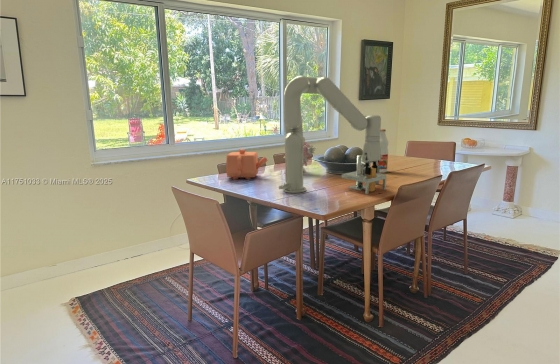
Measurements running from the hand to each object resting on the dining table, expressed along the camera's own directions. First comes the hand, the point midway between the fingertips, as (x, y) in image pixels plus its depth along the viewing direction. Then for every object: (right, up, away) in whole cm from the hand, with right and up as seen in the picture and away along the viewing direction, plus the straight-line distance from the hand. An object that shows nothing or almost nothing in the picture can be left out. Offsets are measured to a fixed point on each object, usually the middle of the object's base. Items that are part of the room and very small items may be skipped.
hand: (371, 173), depth 198 cm
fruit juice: (+18, +2, +51) cm, 54 cm away
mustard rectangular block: (0, -9, +2) cm, 9 cm away
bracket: (+2, -6, +13) cm, 15 cm away
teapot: (-68, -2, +39) cm, 79 cm away
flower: (-36, +1, +48) cm, 60 cm away
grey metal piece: (-3, -8, +6) cm, 11 cm away
